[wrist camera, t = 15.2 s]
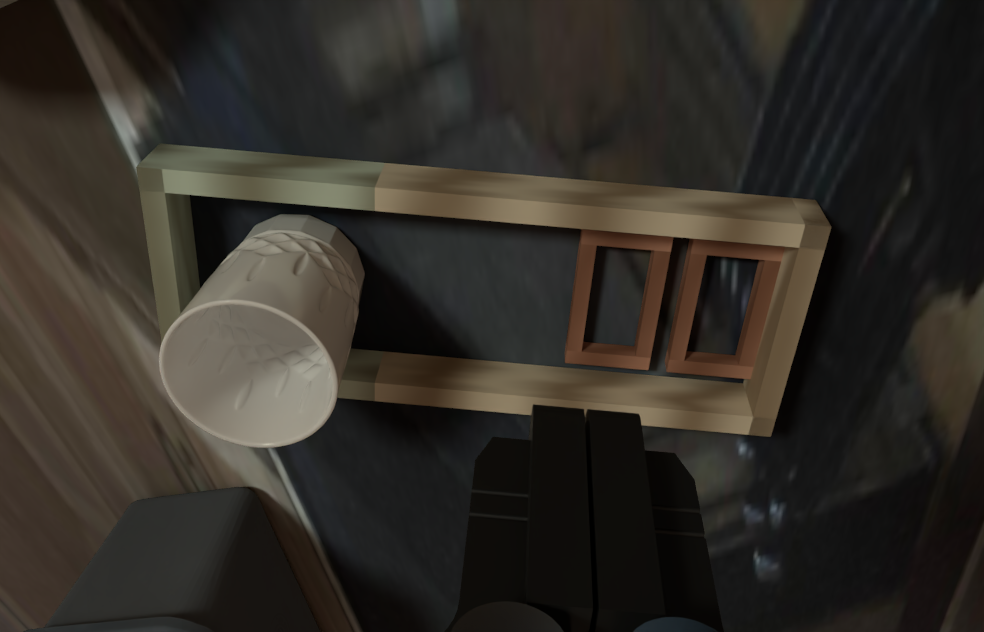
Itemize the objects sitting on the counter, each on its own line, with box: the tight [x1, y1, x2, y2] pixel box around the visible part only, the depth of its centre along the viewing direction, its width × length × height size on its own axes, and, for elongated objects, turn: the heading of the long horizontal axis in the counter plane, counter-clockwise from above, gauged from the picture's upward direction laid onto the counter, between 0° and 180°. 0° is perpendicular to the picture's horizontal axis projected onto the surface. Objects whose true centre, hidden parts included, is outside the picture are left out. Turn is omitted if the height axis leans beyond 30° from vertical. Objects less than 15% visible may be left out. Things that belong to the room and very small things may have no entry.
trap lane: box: [136, 144, 831, 437], centre depth 47 cm, size 32×12×3 cm, turn 86°
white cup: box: [159, 214, 365, 448], centre depth 44 cm, size 8×8×10 cm
